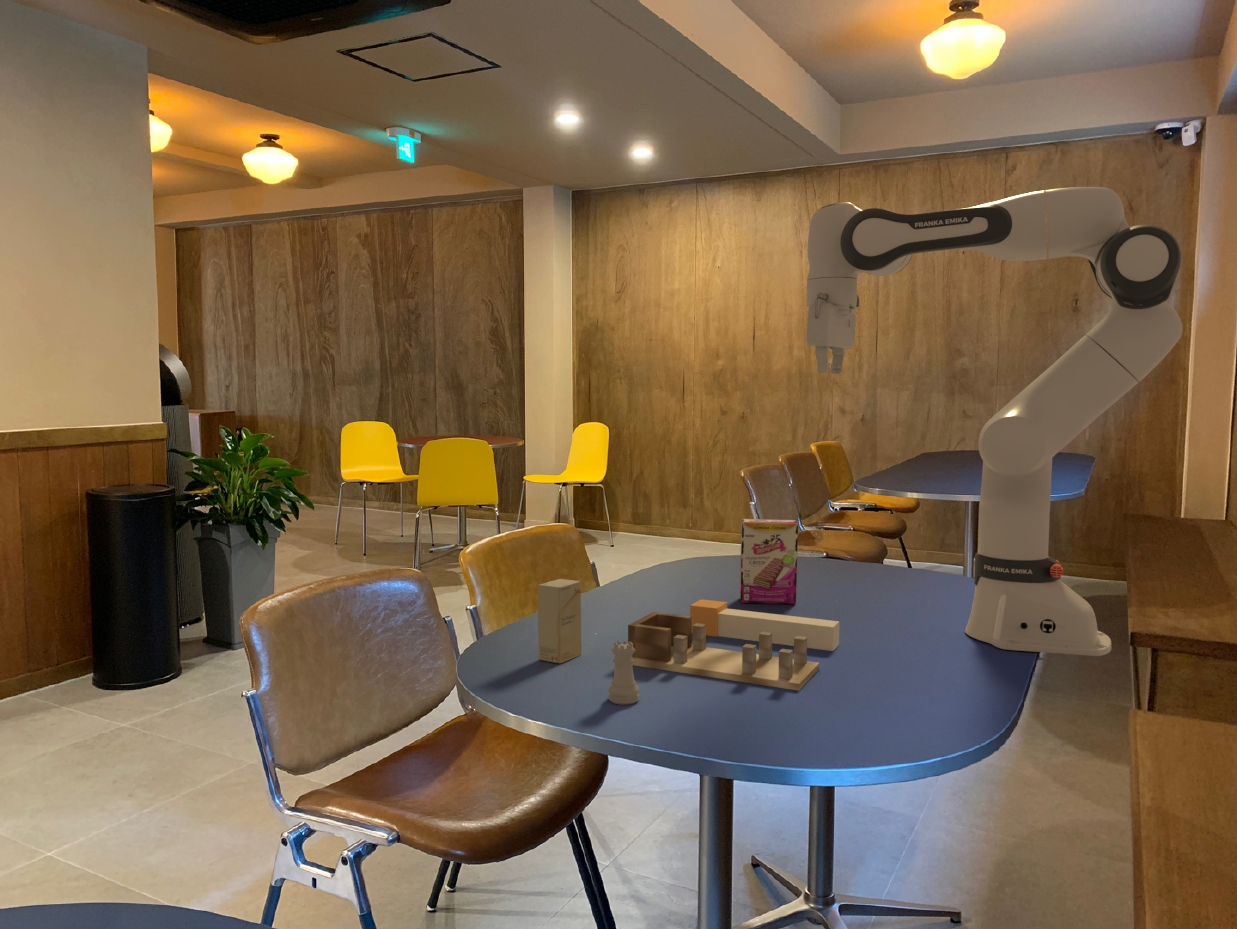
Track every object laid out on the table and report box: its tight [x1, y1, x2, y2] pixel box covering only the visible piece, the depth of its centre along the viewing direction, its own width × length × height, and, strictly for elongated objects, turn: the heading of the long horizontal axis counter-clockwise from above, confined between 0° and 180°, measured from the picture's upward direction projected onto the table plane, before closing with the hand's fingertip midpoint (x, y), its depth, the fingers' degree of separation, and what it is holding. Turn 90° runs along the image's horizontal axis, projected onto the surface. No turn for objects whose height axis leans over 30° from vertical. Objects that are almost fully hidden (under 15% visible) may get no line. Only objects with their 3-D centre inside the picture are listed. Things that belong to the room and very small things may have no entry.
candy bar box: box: [739, 518, 799, 605], centre depth 181 cm, size 11×5×16 cm, turn 84°
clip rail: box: [627, 611, 820, 692], centre depth 139 cm, size 28×11×6 cm, turn 63°
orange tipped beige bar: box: [689, 599, 840, 652], centre depth 155 cm, size 25×5×5 cm, turn 63°
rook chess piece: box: [607, 640, 641, 706], centre depth 124 cm, size 4×4×8 cm
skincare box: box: [537, 578, 582, 664], centre depth 144 cm, size 6×4×12 cm
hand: (830, 373), depth 165 cm, fingers open, 8 cm apart
